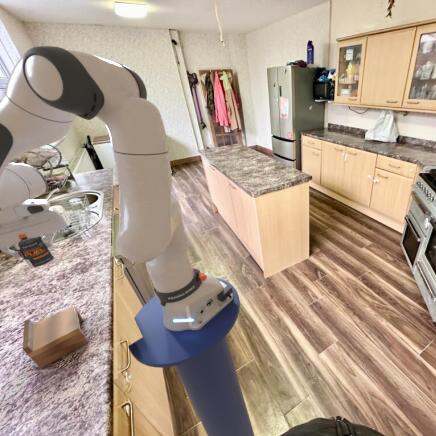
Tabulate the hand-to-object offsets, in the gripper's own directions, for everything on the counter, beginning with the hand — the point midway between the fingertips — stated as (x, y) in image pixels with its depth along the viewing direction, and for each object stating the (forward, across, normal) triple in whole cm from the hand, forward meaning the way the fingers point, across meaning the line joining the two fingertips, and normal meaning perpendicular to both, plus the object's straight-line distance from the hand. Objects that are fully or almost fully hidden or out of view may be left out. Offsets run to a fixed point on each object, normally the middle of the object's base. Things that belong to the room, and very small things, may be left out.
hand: (35, 251), depth 73 cm
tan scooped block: (+20, -2, -21) cm, 30 cm away
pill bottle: (+4, 0, 0) cm, 4 cm away
